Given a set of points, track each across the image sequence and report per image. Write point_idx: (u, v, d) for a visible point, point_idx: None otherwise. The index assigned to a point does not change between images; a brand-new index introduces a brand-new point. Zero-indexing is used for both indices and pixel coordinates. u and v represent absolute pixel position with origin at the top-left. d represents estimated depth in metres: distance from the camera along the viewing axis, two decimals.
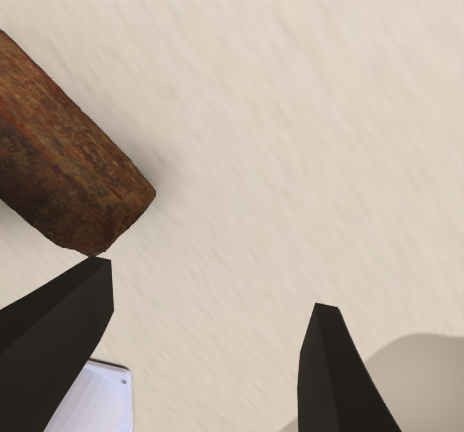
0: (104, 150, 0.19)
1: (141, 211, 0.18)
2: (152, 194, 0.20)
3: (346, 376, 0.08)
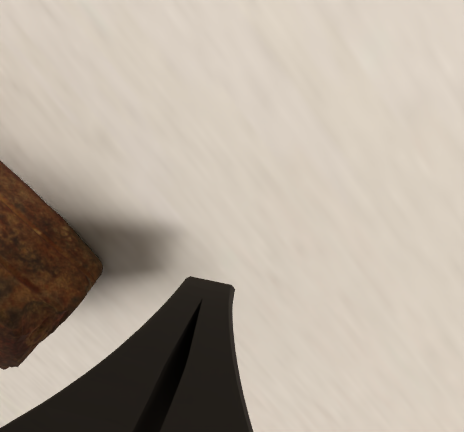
0: (20, 213, 0.13)
1: (72, 307, 0.12)
2: (95, 273, 0.14)
3: (207, 345, 0.08)
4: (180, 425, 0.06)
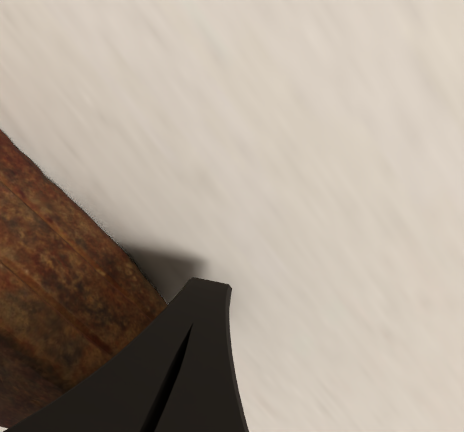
0: (82, 251, 0.11)
1: None
2: None
3: (204, 344, 0.08)
4: (175, 424, 0.06)
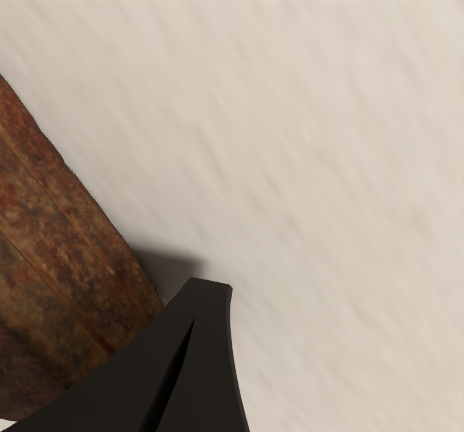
0: (95, 247, 0.10)
1: None
2: None
3: (205, 344, 0.08)
4: (176, 424, 0.06)
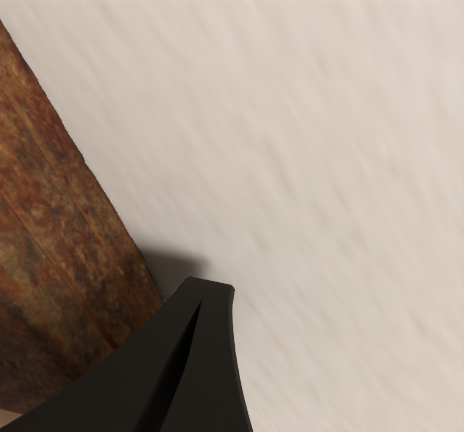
0: (108, 247, 0.11)
1: None
2: None
3: (207, 345, 0.08)
4: (180, 425, 0.06)
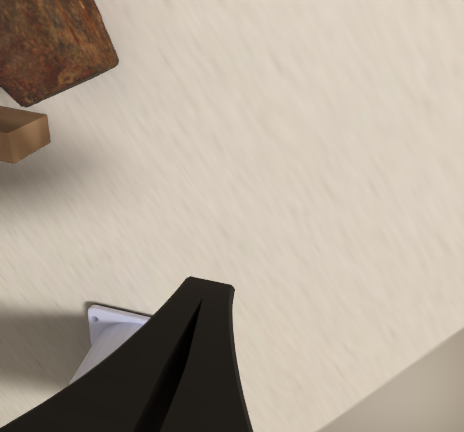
0: None
1: (97, 69, 0.16)
2: (114, 60, 0.17)
3: (207, 345, 0.08)
4: (180, 425, 0.06)
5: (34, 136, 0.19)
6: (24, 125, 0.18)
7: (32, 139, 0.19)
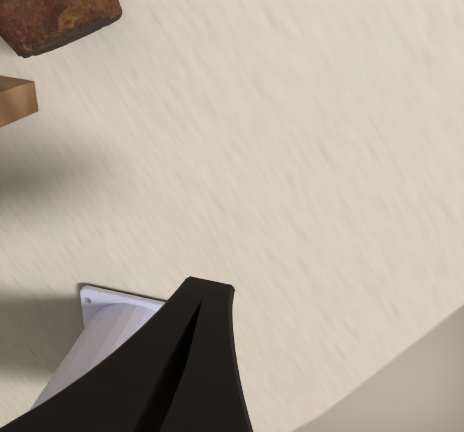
0: None
1: (100, 14, 0.15)
2: (117, 10, 0.16)
3: (207, 345, 0.08)
4: (180, 425, 0.06)
5: (20, 101, 0.19)
6: (9, 89, 0.18)
7: (18, 105, 0.19)
